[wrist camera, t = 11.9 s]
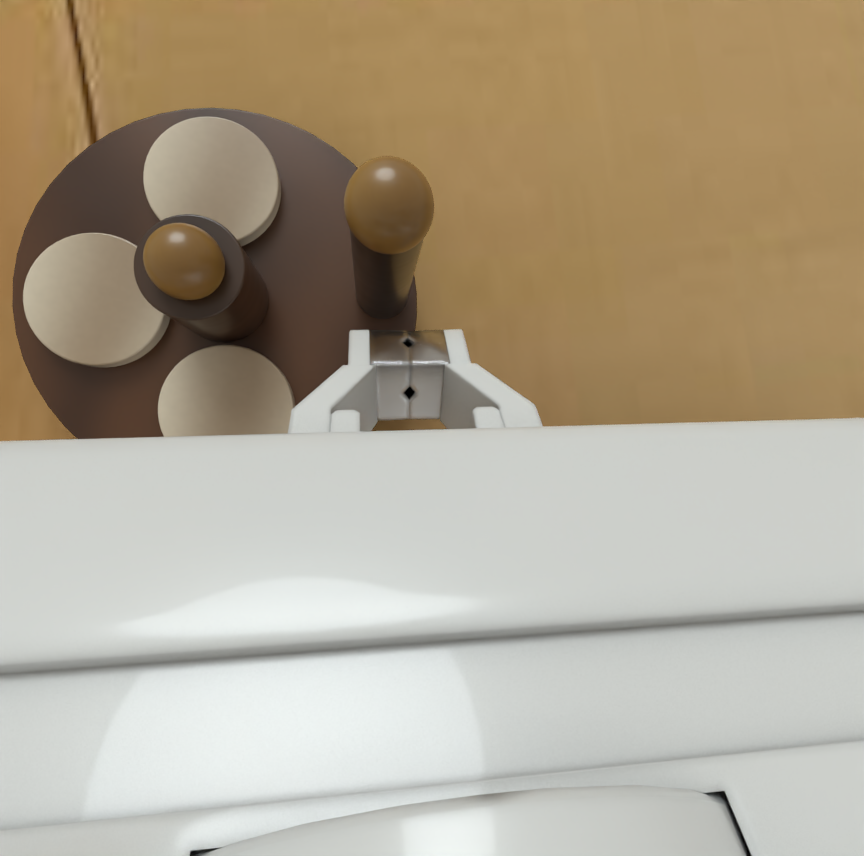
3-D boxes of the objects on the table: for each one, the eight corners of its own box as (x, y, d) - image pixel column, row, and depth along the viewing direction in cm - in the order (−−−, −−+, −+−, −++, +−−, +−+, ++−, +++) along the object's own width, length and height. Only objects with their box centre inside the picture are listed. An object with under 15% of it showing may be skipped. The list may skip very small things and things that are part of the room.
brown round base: (43, 505, 21) (-285, 573, 10) (20, 123, 21) (-324, -188, 11) (426, 475, 23) (474, 506, 12) (402, 126, 23) (429, -134, 13)
